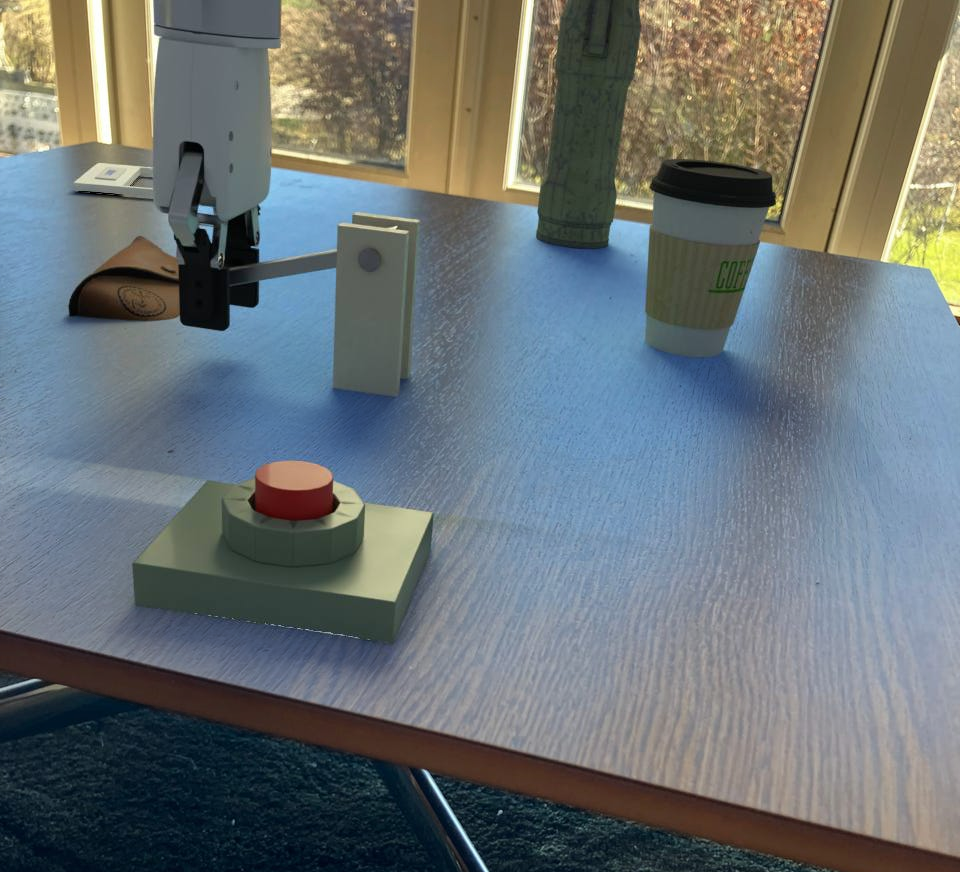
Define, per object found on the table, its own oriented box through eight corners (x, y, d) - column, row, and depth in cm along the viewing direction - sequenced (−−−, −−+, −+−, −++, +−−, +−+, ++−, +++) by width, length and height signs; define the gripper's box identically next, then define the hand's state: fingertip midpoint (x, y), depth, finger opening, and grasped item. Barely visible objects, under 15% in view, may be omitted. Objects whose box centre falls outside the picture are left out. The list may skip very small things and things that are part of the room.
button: (245, 519, 52) (244, 483, 51) (268, 489, 55) (268, 455, 54) (321, 530, 52) (322, 495, 51) (340, 499, 55) (341, 466, 54)
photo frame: (97, 161, 141) (244, 173, 144) (98, 170, 142) (244, 183, 144) (73, 180, 129) (233, 194, 131) (74, 191, 130) (233, 204, 132)
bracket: (285, 407, 75) (287, 223, 69) (316, 372, 82) (319, 202, 76) (432, 428, 75) (446, 244, 69) (451, 391, 82) (465, 221, 76)
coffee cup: (761, 379, 92) (805, 183, 84) (651, 379, 89) (687, 176, 81) (707, 343, 100) (743, 161, 92) (604, 342, 97) (633, 154, 89)
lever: (203, 307, 74) (192, 270, 73) (230, 288, 79) (220, 253, 78) (395, 275, 71) (386, 236, 70) (411, 258, 76) (403, 221, 75)
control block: (134, 605, 51) (128, 526, 49) (208, 517, 60) (206, 446, 58) (393, 645, 51) (398, 566, 49) (430, 550, 59) (436, 479, 57)
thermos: (537, 247, 128) (580, -122, 111) (532, 226, 139) (571, -115, 121) (614, 254, 129) (669, -112, 111) (603, 233, 139) (653, -105, 121)
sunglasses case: (184, 336, 85) (133, 253, 82) (105, 375, 86) (53, 296, 83) (223, 279, 100) (182, 208, 97) (156, 314, 102) (114, 245, 99)
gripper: (205, 5, 76) (209, 280, 85) (97, 8, 61) (116, 341, 70) (315, 19, 75) (307, 294, 84) (233, 25, 60) (234, 358, 69)
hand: (220, 312), depth 77 cm, fingers closed on lever, 5 cm apart
